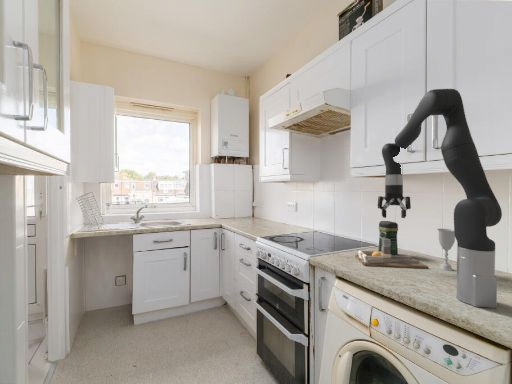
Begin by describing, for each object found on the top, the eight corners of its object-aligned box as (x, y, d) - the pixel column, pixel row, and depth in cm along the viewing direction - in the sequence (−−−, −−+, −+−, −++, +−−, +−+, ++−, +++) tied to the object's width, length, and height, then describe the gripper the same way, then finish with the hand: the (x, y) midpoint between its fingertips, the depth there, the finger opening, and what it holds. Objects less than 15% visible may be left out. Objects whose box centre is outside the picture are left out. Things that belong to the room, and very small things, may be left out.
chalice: (443, 266, 119) (443, 228, 118) (459, 270, 112) (460, 230, 112) (433, 267, 116) (433, 229, 116) (449, 272, 109) (449, 231, 109)
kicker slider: (391, 260, 121) (391, 240, 121) (382, 260, 122) (382, 239, 122) (387, 257, 126) (387, 238, 126) (378, 257, 127) (379, 238, 126)
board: (428, 268, 114) (428, 260, 114) (364, 265, 117) (364, 257, 117) (411, 259, 130) (411, 251, 130) (355, 256, 133) (355, 249, 133)
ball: (373, 252, 123) (373, 260, 123) (382, 252, 122) (382, 261, 122) (370, 250, 127) (370, 258, 127) (379, 250, 126) (379, 258, 126)
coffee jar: (400, 256, 136) (401, 222, 136) (388, 256, 134) (388, 222, 134) (387, 251, 145) (388, 220, 145) (375, 252, 144) (376, 220, 144)
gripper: (381, 184, 118) (381, 218, 118) (413, 184, 116) (413, 218, 116) (375, 184, 125) (375, 216, 125) (405, 184, 124) (405, 217, 124)
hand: (393, 217), depth 121 cm, fingers open, 8 cm apart
